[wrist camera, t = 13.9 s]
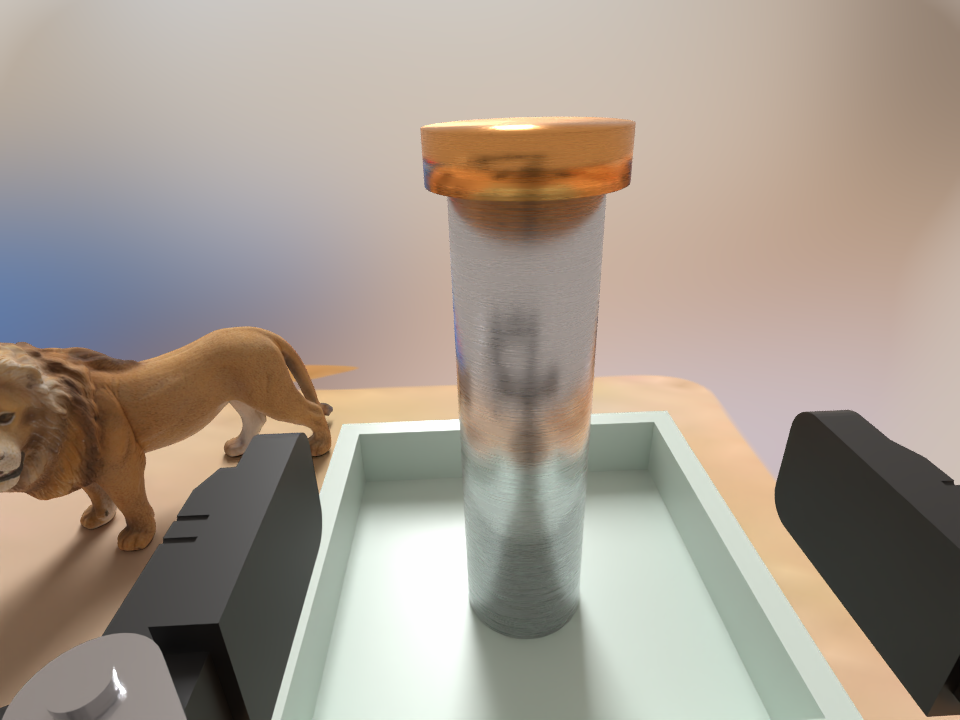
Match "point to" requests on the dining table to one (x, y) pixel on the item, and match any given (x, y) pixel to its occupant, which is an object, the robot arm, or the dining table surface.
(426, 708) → the tray
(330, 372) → the dining table surface
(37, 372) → the lion figurine
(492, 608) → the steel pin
